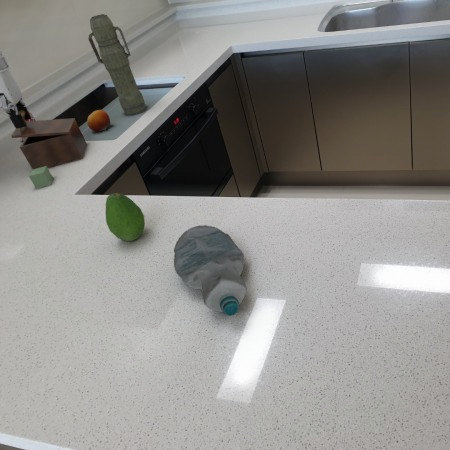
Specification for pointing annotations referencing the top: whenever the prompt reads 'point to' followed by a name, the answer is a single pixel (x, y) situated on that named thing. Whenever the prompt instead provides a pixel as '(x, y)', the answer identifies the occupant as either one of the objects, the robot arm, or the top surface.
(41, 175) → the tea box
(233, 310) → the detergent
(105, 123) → the fruit
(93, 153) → the top surface
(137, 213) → the avocado
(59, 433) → the top surface
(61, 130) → the lid
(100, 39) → the thermos
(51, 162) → the box
